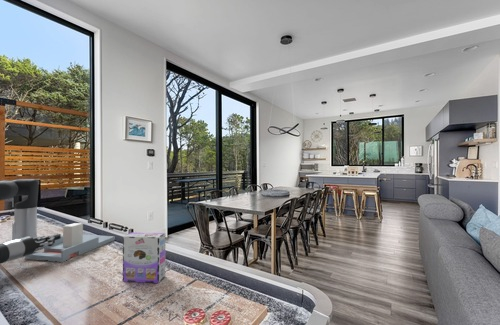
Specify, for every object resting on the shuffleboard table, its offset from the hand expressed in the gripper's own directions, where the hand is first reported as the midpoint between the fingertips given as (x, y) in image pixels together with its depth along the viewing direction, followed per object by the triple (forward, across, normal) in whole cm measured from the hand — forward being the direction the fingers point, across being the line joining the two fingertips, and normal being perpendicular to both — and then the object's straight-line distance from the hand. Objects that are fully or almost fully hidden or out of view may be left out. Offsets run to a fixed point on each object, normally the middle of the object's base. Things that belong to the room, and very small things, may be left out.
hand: (59, 236), depth 109 cm
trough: (+8, 0, +8) cm, 12 cm away
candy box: (-13, -53, +9) cm, 55 cm away
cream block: (+7, 0, +6) cm, 10 cm away
